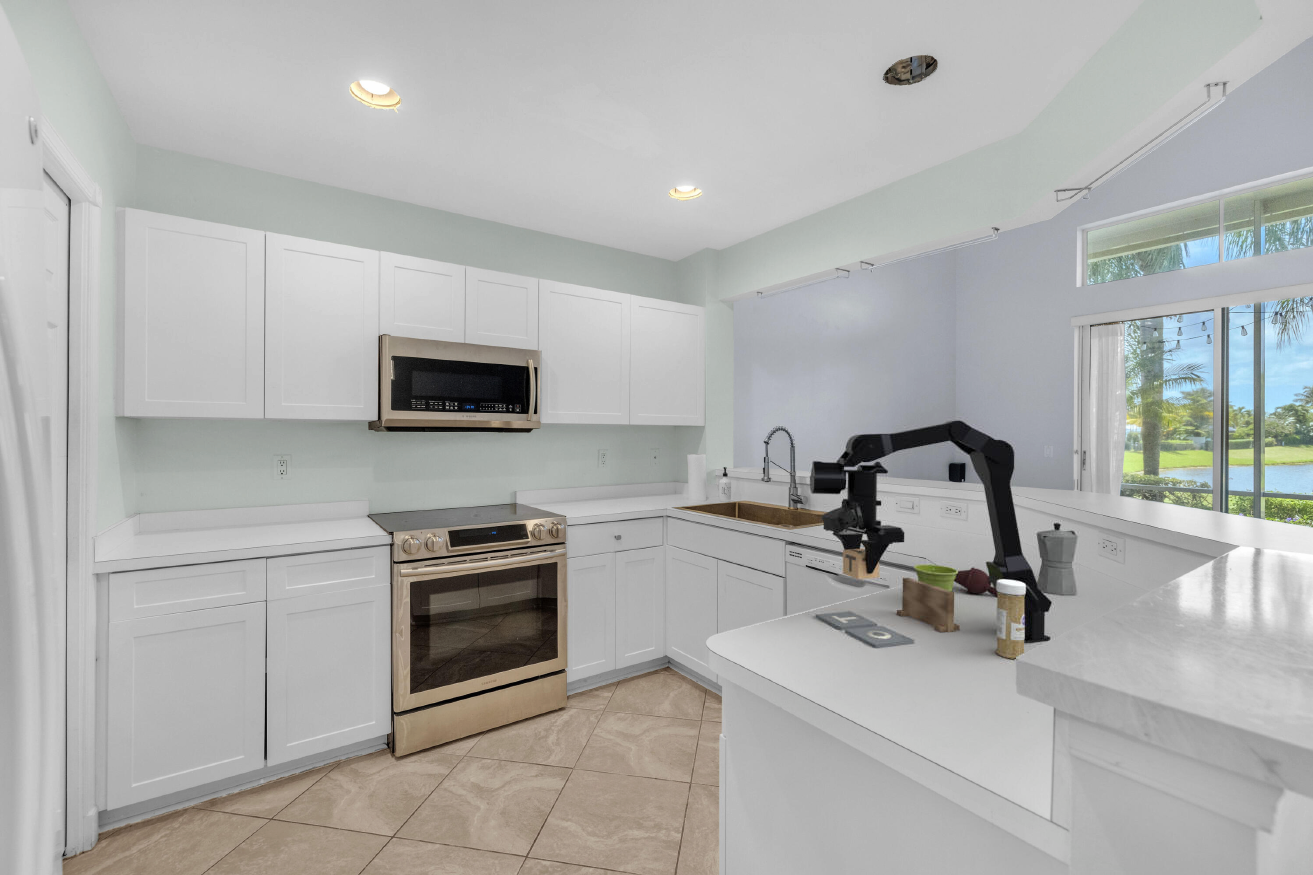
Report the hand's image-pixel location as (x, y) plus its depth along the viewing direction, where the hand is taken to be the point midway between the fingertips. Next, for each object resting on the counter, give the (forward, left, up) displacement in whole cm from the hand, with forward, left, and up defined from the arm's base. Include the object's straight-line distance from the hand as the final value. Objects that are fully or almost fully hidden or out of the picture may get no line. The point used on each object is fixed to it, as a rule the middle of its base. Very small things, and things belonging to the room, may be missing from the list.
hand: (860, 570), depth 119 cm
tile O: (-6, 0, -12) cm, 13 cm away
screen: (0, -17, -12) cm, 21 cm away
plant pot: (+10, -29, -12) cm, 33 cm away
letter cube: (0, 0, -1) cm, 1 cm away
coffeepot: (+12, -72, -12) cm, 74 cm away
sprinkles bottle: (-20, -17, -12) cm, 29 cm away
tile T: (+5, 0, -12) cm, 13 cm away
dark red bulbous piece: (+16, -47, -12) cm, 52 cm away
